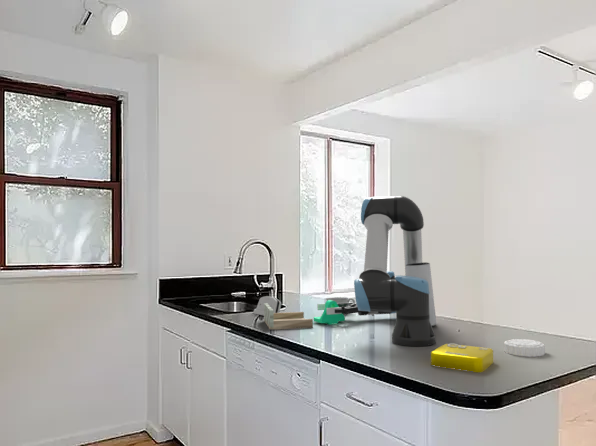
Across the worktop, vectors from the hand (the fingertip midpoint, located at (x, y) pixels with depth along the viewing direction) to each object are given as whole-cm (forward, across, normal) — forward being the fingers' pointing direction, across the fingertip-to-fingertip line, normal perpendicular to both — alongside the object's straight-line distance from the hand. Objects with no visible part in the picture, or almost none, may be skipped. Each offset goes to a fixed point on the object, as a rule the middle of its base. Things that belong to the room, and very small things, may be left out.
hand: (322, 309), depth 224 cm
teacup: (-16, +22, -6) cm, 28 cm away
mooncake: (-44, -75, -6) cm, 87 cm away
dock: (+16, +1, -6) cm, 18 cm away
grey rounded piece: (+18, +33, -6) cm, 38 cm away
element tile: (-18, -82, -7) cm, 84 cm away
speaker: (-38, -22, -6) cm, 44 cm away
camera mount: (-3, -1, -6) cm, 7 cm away
